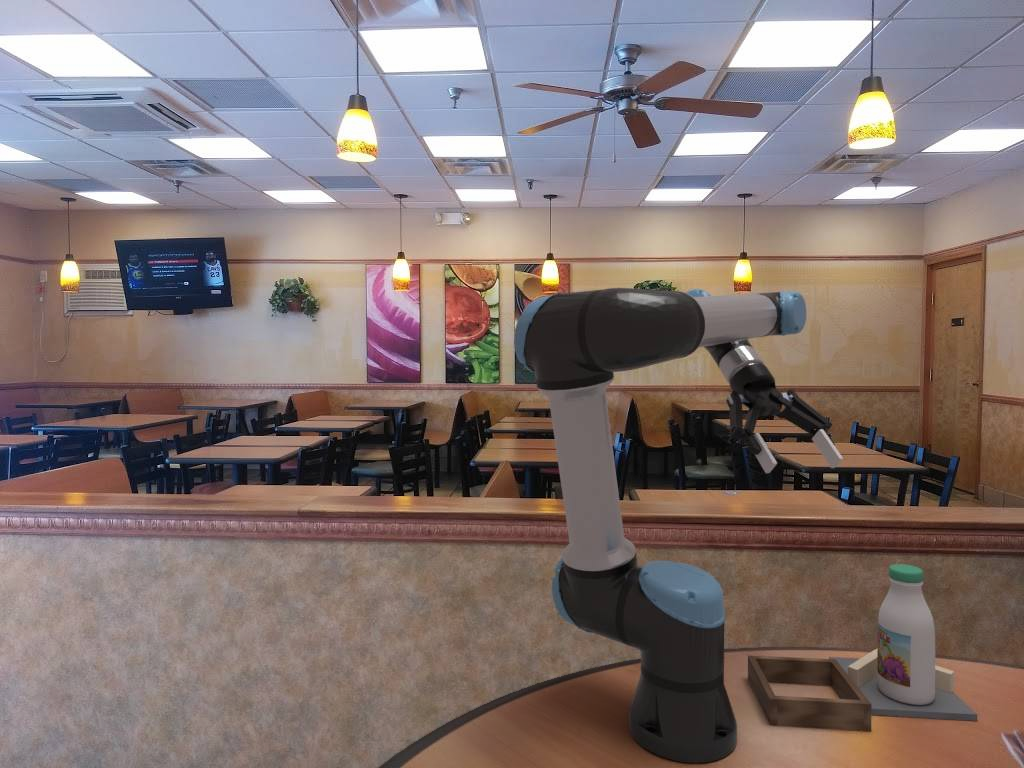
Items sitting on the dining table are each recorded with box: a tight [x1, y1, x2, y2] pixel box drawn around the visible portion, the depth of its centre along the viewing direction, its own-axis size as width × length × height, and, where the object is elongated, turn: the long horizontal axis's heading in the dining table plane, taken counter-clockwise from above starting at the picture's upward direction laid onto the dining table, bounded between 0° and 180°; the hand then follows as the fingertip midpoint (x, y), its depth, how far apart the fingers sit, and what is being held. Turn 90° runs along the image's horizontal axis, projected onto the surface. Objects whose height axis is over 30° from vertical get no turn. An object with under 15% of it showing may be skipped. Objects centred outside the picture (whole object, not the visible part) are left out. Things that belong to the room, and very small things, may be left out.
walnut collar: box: [747, 655, 872, 732], centre depth 100 cm, size 14×14×4 cm
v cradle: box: [828, 648, 978, 722], centre depth 104 cm, size 16×17×4 cm
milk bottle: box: [876, 563, 936, 705], centre depth 101 cm, size 8×8×20 cm
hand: (805, 466), depth 109 cm, fingers open, 13 cm apart
